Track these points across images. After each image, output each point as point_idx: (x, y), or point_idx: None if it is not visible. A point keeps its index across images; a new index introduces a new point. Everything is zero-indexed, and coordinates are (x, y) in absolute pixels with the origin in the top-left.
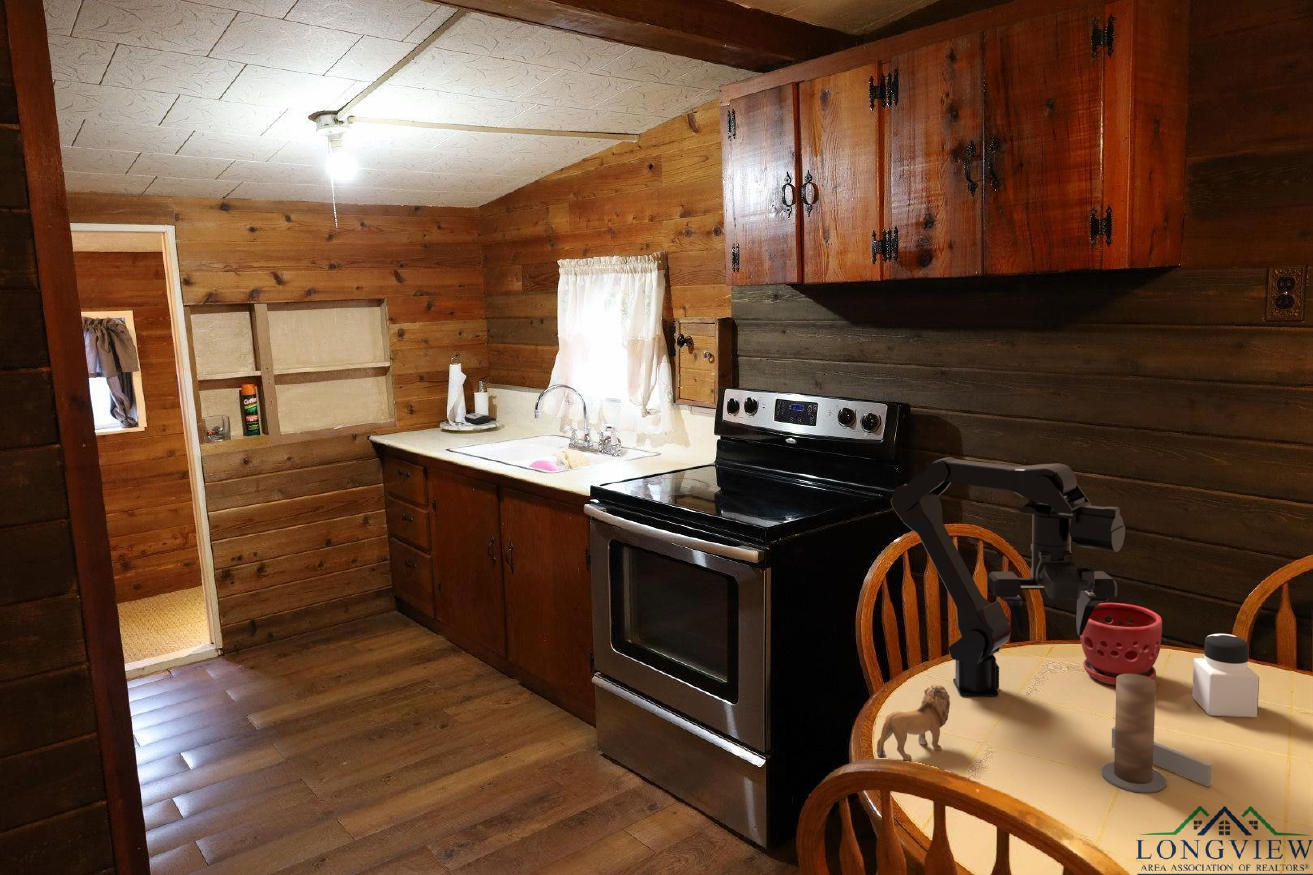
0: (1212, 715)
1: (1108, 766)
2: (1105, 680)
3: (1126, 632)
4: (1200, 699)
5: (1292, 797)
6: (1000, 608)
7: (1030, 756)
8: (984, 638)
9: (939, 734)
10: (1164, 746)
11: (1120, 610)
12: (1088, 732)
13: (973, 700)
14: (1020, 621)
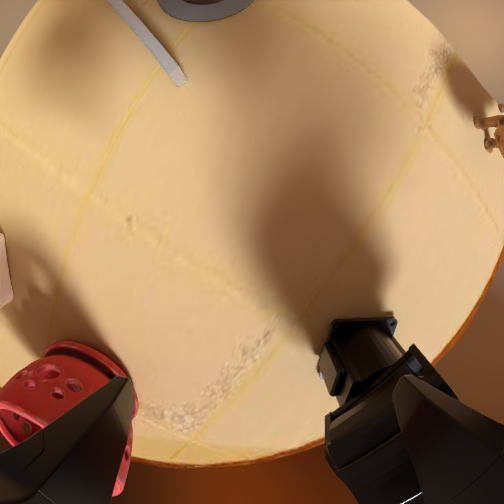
0: (1, 233)
1: (237, 4)
2: (110, 361)
3: (31, 407)
4: (1, 270)
5: (40, 4)
6: (369, 499)
7: (363, 59)
8: (442, 383)
9: (493, 117)
10: (119, 10)
11: None
12: (207, 144)
13: (382, 301)
14: (452, 410)
